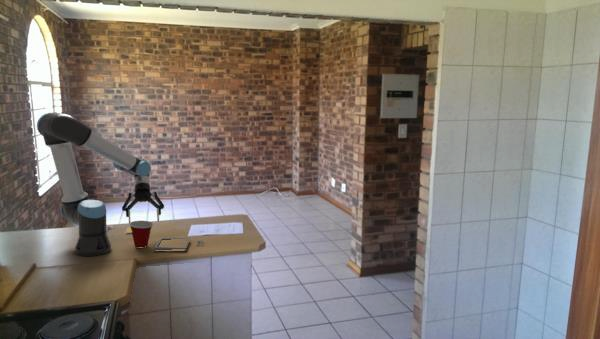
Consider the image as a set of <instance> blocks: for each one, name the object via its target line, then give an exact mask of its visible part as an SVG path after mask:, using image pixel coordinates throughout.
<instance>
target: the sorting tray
mask: <svg viewBox="0 0 600 339" xmlns="http://www.w3.org/2000/svg"><path fill="white" fill-rule="evenodd" d="M171 239H187V241H186V243H185V246H184V247H159V245H160V243H161V241H162V240H171ZM189 239H190V237H160V238H159V240H158V241H157V243H156V244H155V246H154V247H153V248H154V249H153V251H154V250H172V249H186V247H187V244H188V241H189ZM187 248H188V247H187Z"/></svg>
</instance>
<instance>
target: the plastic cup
mask: <svg viewBox="0 0 600 339" xmlns="http://www.w3.org/2000/svg"><path fill="white" fill-rule="evenodd" d="M153 225H154V223H153V222H152V221H148V220H133V221H130V224H129V226H130V230H131V234H132V241H133V243H134V247H145V246H147V247H148V245H149V239H150V236H151V235H150V234H151V229H152V227H153Z"/></svg>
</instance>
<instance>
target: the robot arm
mask: <svg viewBox="0 0 600 339" xmlns="http://www.w3.org/2000/svg"><path fill="white" fill-rule="evenodd" d="M36 129H37V131H38V133H39V134H40V136H42V137H43V141H44V143H45V146H47V147H49V148H50V151H51V156H52V158H53V162H54V166H55V168H56V172H57V177H58V181H59V184H60V187H61V192H62V194H63V195H62V198H61V199H60V201H61V206H60V214H61V216H62V217H63V218H64V219H65V221H66V220H67V221H68V222H69V223H72V224H75V225H77V226H78V239H77V242H76V245H75V254H76V255H77V256H81V257H97V256H101V255H104V254H105V255H106V254H107V253H109V252H110V251H111V250H112V244H111V241H110V239H109V237H108V234H107V207H106V204H105V203H104V202H103V201H102V200H95V199H90V198H89V194H88V192H86V191H84V188H83V184H82V180H81V177H80V172H79V169H78V165H77V162H76V157H75V154H74V150H73V145H72V144H74V145H76V146H78V147H85V148H86V149H88V150H90V151H92V152H94V153H96V154H98V155H99V156H102V157H103V158H105V159H107V160H109V162H110V161H111V162H112V166H113V168H115V169H117V170H118V171H122V172H123V173H124V172H125V173H127V174H130V175H132V176H133V177H134V193H131V192H129V193H128V195H127V198H126V200H125V202H124V204H123V205H122V207H121V210H122V212H124V211H125V217H126V218H128V224H129V225H130V222H131V209H132V208H134V206H135V205H137V203H144V202H145V203H146V202H148V203H149V204H151V205H152V206H153V207H154V208H155V209H156V219H157V222H160V216H161V214H162V210H164V209H165V204H164V203H163V201H162V200H161V198H160V197H159V196H158V193H157V191H154V192H153V193H152V192H151V186H150V185H151V183H150V182H151V181H150V180H151V179H150V172H151V170H152V166H151V164H150V163H149V162H148V160H146V159H144V158H143V159H142V158H139V157H137V156H135V155H133V154H132V153H130V152H129V151H126V150H124V149H123V148H121V147H120V146H118V145H117V144H115V143H112V142H111V141H109V140H108V139H106V138H105V137H102V136H101V135H99V134H97V133H95V132H94V131H93V129H92V128H91V127H90V126H89V125H87V124H85V123H84V122H82V121H81V120H78V119H77V118H76V117H74V116H72V115H70V114H67V113H58V112H47V113H44V114H42V115H41V116H40V117H39V118H38V120H37V123H36ZM152 197H153V198H154V199H153V198H152ZM133 198H134V199H133ZM131 199H133V200H131ZM131 201H132V202H131Z"/></svg>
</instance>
